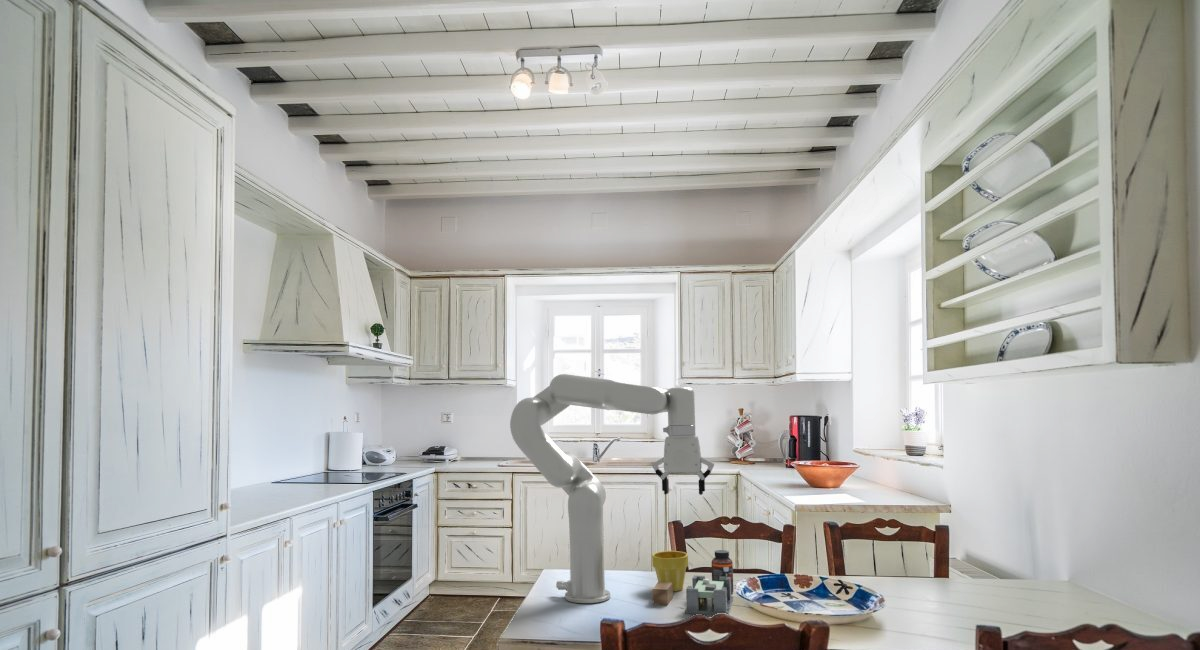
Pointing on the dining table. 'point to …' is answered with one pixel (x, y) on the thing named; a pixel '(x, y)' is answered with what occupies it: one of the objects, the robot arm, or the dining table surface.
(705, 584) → the board
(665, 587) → the wooden block
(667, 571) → the plant pot
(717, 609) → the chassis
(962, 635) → the dining table surface
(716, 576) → the supplement bottle
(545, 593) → the dining table surface
